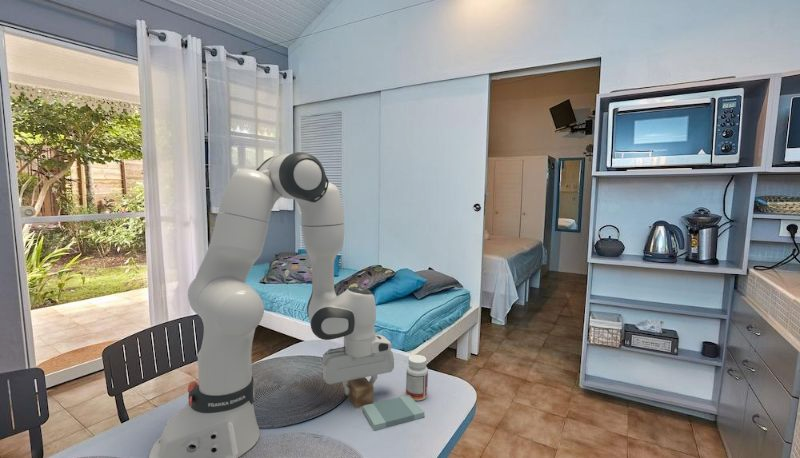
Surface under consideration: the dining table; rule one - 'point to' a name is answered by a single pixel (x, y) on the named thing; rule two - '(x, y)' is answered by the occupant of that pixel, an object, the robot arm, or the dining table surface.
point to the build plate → (392, 412)
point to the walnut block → (360, 392)
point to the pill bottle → (417, 377)
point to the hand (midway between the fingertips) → (359, 391)
